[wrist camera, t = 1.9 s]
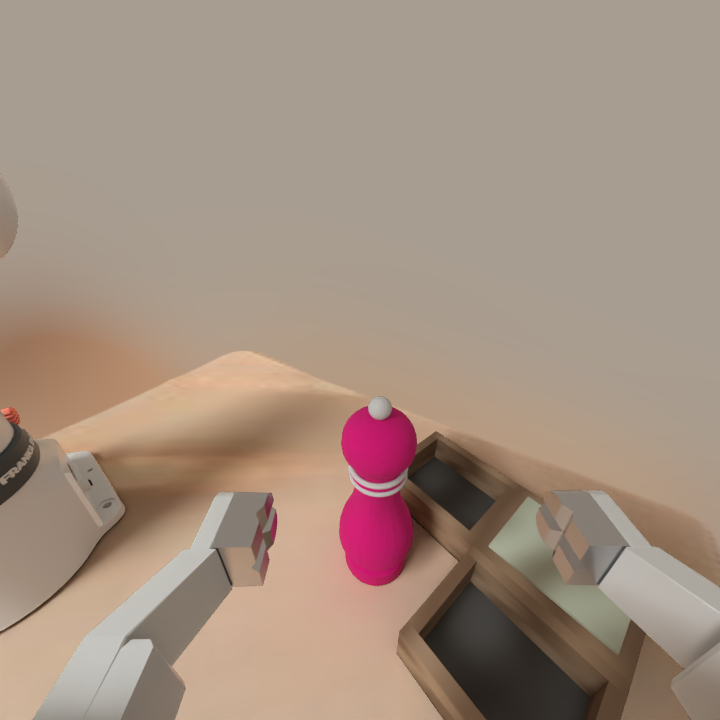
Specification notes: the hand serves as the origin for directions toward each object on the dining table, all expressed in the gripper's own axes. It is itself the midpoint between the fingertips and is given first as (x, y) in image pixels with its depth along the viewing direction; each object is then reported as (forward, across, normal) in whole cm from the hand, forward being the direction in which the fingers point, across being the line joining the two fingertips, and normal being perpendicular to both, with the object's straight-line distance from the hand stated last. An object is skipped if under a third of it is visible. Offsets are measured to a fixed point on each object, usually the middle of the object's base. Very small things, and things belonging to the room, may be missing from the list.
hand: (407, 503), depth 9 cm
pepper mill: (+12, 0, +25) cm, 28 cm away
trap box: (+11, -9, +25) cm, 29 cm away
